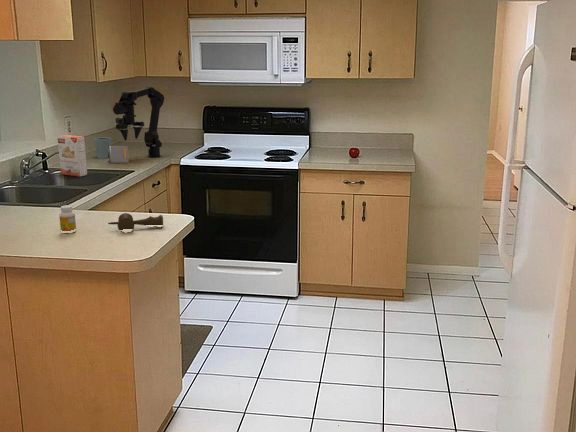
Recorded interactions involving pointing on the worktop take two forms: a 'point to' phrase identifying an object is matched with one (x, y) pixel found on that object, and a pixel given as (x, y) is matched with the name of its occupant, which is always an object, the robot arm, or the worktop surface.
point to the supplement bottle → (67, 218)
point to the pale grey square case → (119, 154)
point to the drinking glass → (102, 147)
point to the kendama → (136, 221)
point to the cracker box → (72, 155)
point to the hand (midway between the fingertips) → (131, 139)
